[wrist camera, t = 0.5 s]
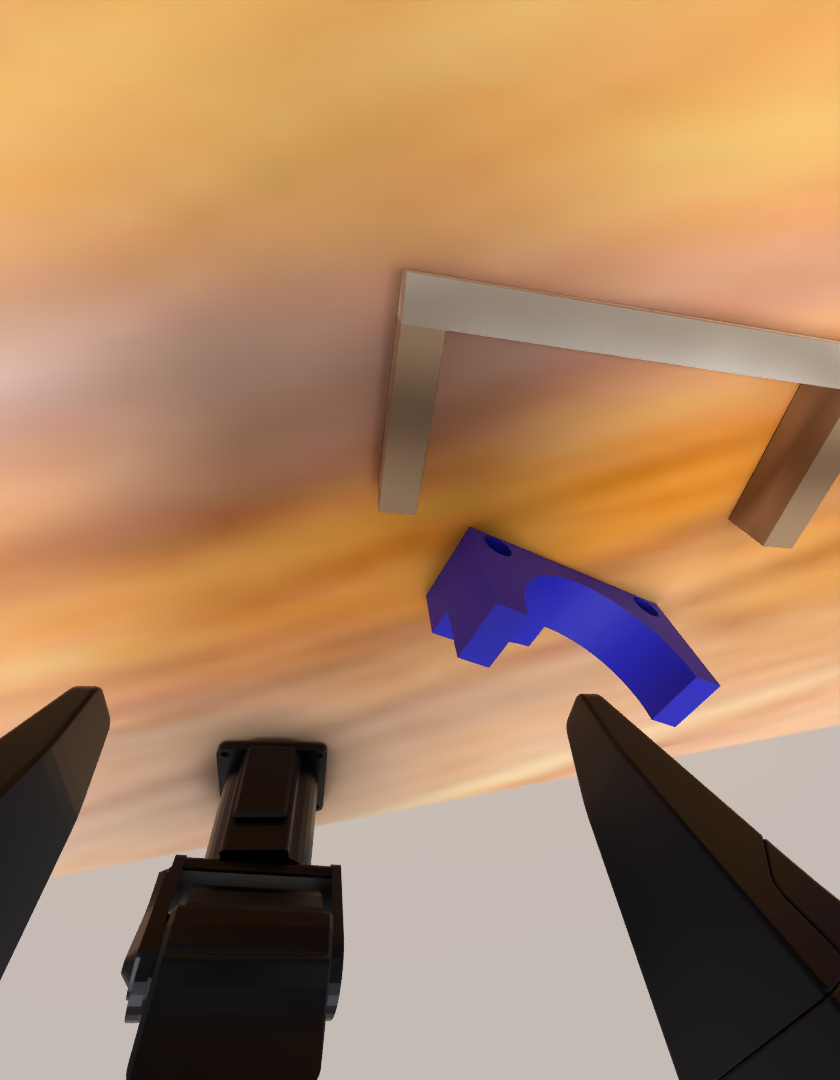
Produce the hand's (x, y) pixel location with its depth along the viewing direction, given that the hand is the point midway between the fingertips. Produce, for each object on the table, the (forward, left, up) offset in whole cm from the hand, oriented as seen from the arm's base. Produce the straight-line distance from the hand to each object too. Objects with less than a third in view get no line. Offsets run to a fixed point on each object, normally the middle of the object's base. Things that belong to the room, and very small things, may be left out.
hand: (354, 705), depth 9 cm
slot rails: (+2, -10, -13) cm, 17 cm away
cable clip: (-7, -10, -14) cm, 19 cm away
